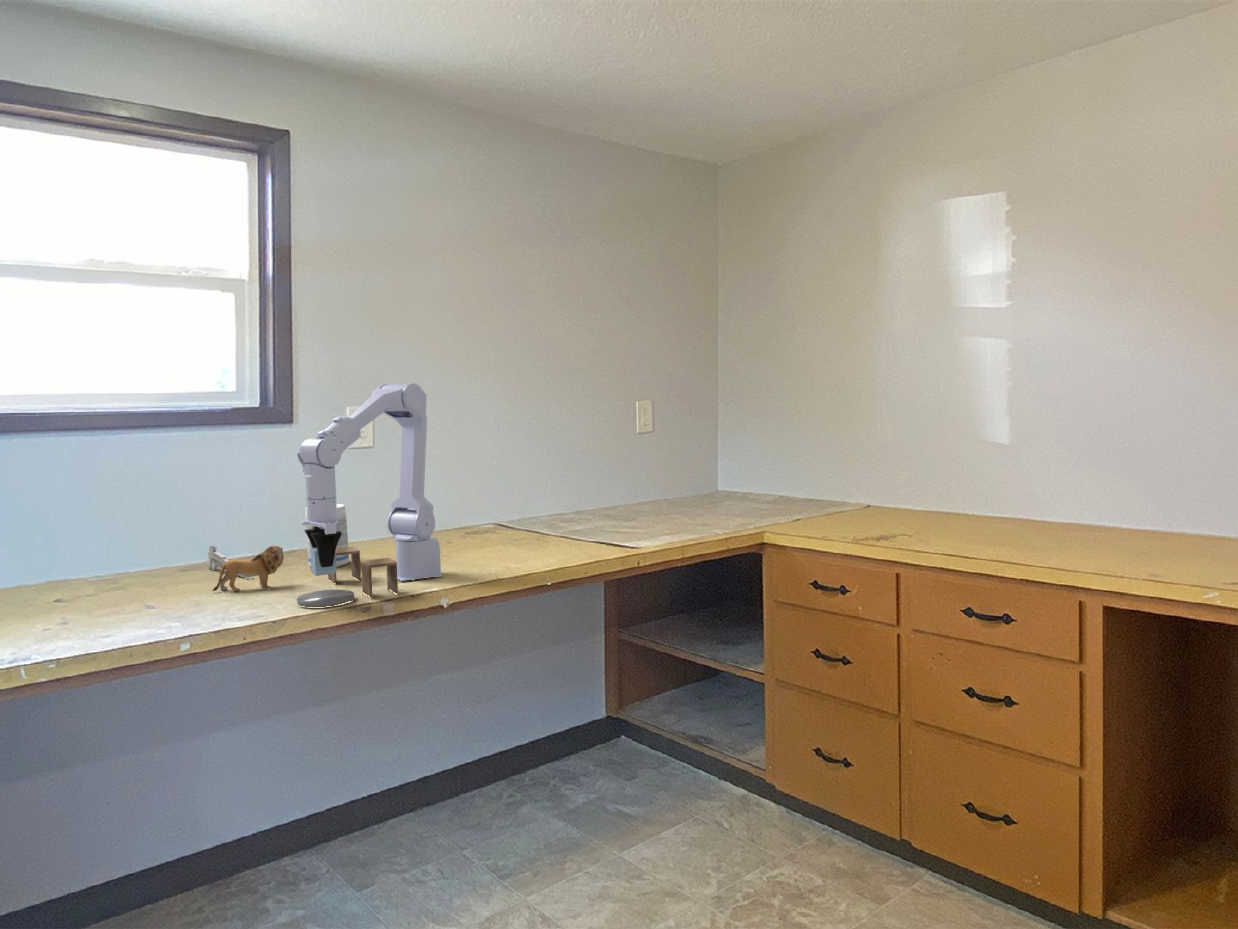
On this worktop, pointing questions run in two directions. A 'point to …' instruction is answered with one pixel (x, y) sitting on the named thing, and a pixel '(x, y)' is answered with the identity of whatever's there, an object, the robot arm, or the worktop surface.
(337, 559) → the supplement tub
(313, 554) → the block
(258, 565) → the lion figurine
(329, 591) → the dish
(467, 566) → the worktop surface
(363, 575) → the brown wooden stool
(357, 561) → the brown wooden arch
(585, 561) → the worktop surface
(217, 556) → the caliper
